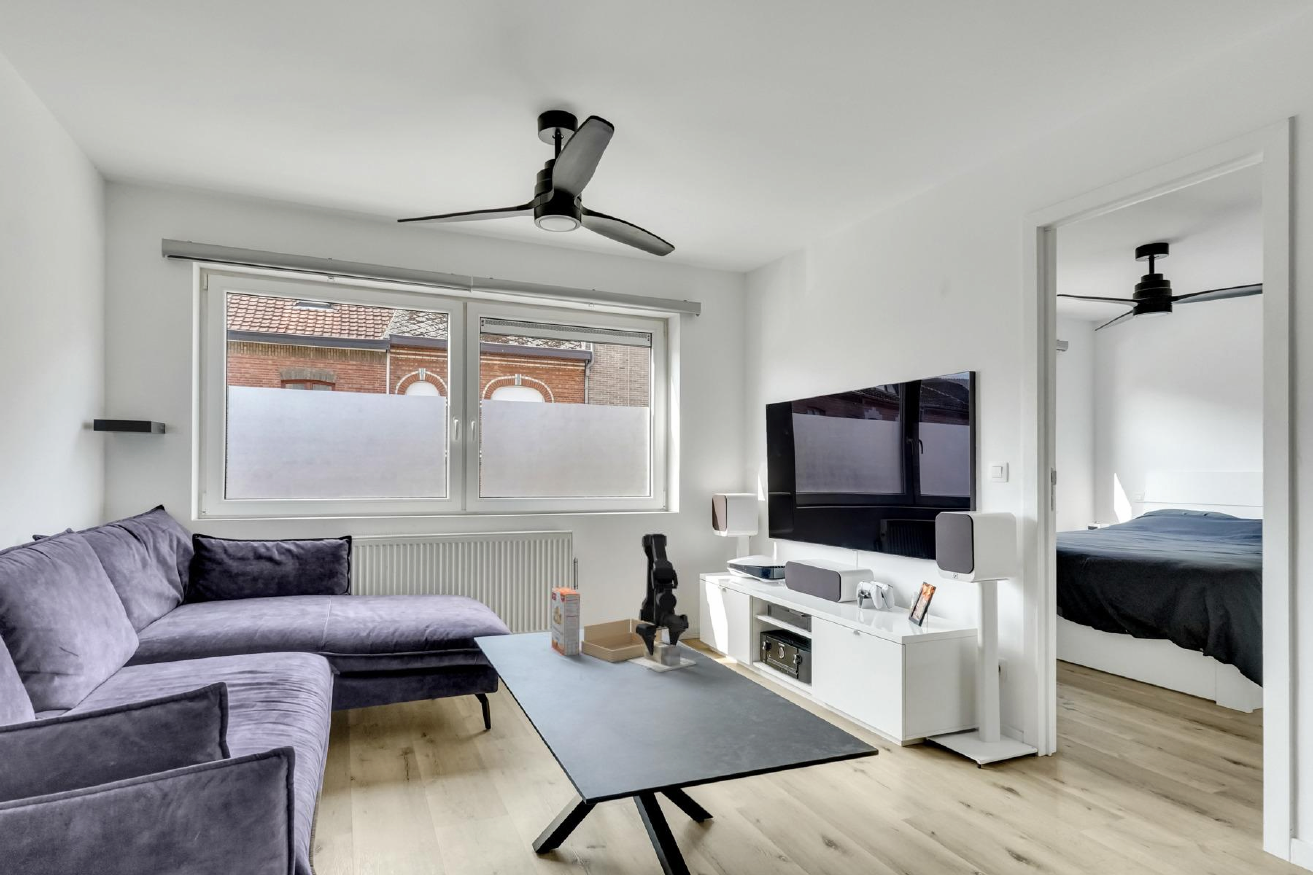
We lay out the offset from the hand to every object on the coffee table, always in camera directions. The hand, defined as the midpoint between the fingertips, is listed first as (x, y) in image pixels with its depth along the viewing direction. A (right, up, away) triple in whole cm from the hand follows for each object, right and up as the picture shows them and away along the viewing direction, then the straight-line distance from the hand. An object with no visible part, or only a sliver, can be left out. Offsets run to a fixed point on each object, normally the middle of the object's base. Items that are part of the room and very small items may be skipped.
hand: (662, 653), depth 246 cm
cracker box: (-33, -4, +14) cm, 36 cm away
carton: (-14, -4, +12) cm, 19 cm away
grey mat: (0, -3, 0) cm, 3 cm away
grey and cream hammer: (0, -3, 0) cm, 3 cm away
